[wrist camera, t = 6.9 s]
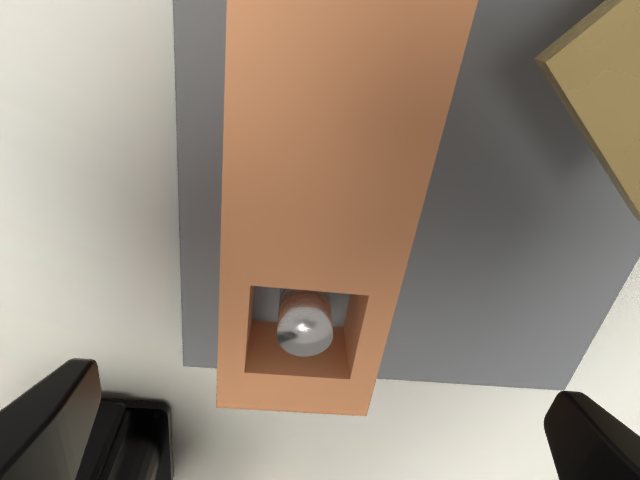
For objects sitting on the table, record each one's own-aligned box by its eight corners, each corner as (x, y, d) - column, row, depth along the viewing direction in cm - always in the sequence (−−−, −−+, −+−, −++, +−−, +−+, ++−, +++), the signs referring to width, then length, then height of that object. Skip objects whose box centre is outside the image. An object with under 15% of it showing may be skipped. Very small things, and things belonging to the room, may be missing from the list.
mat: (560, 384, 23) (564, 390, 22) (185, 359, 21) (183, 365, 21) (856, -154, 12) (872, -157, 12) (168, -291, 11) (164, -300, 10)
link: (358, 361, 21) (366, 416, 18) (227, 352, 20) (216, 407, 18) (452, -42, 13) (490, -47, 11) (243, -76, 13) (229, -89, 10)
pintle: (325, 307, 19) (329, 358, 17) (278, 303, 19) (274, 354, 17) (331, 268, 18) (336, 316, 16) (282, 263, 18) (279, 311, 16)
